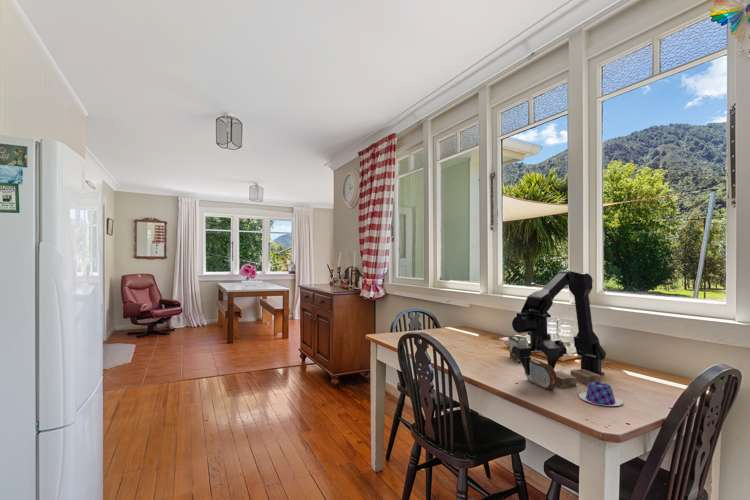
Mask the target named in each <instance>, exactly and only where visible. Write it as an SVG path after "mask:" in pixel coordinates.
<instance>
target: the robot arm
mask: <svg viewBox="0 0 750 500" xmlns="http://www.w3.org/2000/svg"><path fill="white" fill-rule="evenodd" d="M593 282H594V281H593V278H592V276H591V275H590V274H589V273H587V272H585V273H584V272H576V271H572V270H559V271H558V272H557V273H556V274H555V276H554V277H553V278H552V279H551V280H550V281H549V282H548V283H547V284H546V285H544V287H543V288H542V289H540V290H536V291H533V293H530V295H528V296H527V297H526V300H525V302H524V303H523V304H524V305H523V307H522V308H521V310H520V312H517V313H516V316H515V317H514V318H513V319H512V322H511V326H512V329H513V331H515V332H516V333H518V334H524V333H525V334H526V333H527V336H529V342H528V344H527V346H526V347H525V346H522V345H521V346H513V347H512V354H514V355H515V356H517V357H518V358H519V360H520V361H521V363H520V364H521V365H522V367H523V369H524V373H525V372H526V374H527V375H530V360H531V359H532V357H531V355H532V354H538V353H543V354H544V355H545V356H546V360H547V364H548V365H550V366H551V367H552V368H553V369H554V370H555V367H556V366H557V365H556V364H557V363H558V360H559V359H560V358H562V357H564V355H567V354H568V353H567V352H568V349H567V348H566V346H565V345H564V341H563V340H561V339H559V340H552V338H551V334H550V333H548V318H551V316H552V315H551V314H550V313H549V312H548V311H549V310H550V308H551V307H552V306H553V303H554V299H555V297H556V296H558V294H559V293H560V292H561V291H562V290H563V289H564V288H566V286H567V287H568V290H569V291H570V293H571V294H572V295H573V298H574V305H575V314H576V319H577V322H576V323H577V328H578V330H577V331H578V332H577V334H576V335H575V336H573V343H574V347H575V351H576V354H577V356H580V357H581V359H580V368H579V369H578V370H580V369H585V370H587V371H590V372H593V373H595V374H598V375H605V372H604V371H602V360H603V361H604V360H605V359H606V355H607V353H606V351H605V350H604V349H603V347H602V345H601V343H600V339H599V337H598V336H597V334H595V332H594V329H593V328H594V327H593V322H592V321H593V320H592V311H591V304H590V297H589V295H590V293H591V291H592V290H593ZM526 374H525V375H526Z"/></svg>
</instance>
